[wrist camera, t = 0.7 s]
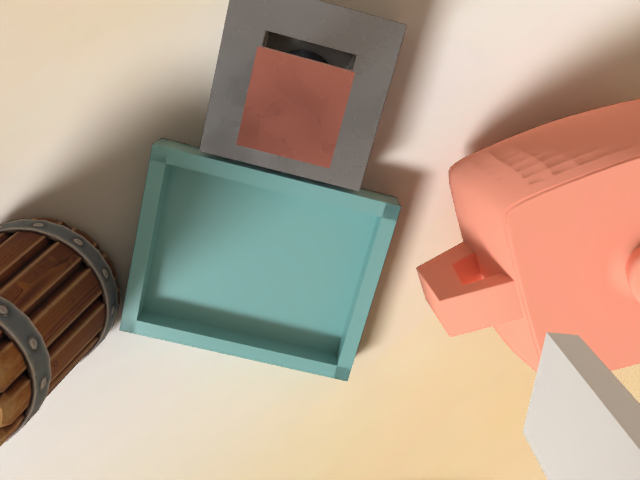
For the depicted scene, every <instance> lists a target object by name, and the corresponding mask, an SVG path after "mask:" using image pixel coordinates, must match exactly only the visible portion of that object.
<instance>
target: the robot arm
mask: <svg viewBox="0 0 640 480" xmlns="http://www.w3.org/2000/svg"><path fill="white" fill-rule="evenodd" d="M523 434H524V436H525V437H526V439H527V441H528V443H529V445H530V447H531V449H532V451H533V453H534V455H535V456H536V458H537V460H538V462H539V464H540V466H541V468H542V470H543V472H544V474H545V475H546V477H547V479H548V480H640V404H639V402H638V401H637V400H636V399H635V398H634V397H633V396H632V395H631V393H630V392H629V391H628V390H627V389H626V388H625V387H624V386H623V384H622V383H621V382H620V381H619V380H618V379H617V378H616V377H615V376H614V374H613V373H612V372H611V371H610V370H609V369H608V368H607V367H606V365H605V364H604V363H603V362H602V361H601V360H600V359H599V358H598V356H597V355H596V354H595V353H594V352H593V351H592V350H591V349H590V348H589V346H588V345H587V344H586V343H585V342H584V341H583V340H582V339H581V337H580V336H579V335H572V334H561V333H551V332H546V336H545V340H544V345H543V349H542V353H541V357H540V361H539V366H538V370H537V374H536V378H535V382H534V387H533V391H532V395H531V399H530V403H529V408H528V412H527V416H526V420H525V424H524V429H523Z"/></svg>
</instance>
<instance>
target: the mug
mask: <svg viewBox="0 0 640 480" xmlns="http://www.w3.org/2000/svg"><path fill="white" fill-rule="evenodd" d="M116 278H117V275H116V272H115V269H114V267H113V265H112V263H111V261H110V260H109V258H108V256H107V255H106V253H104V252H102V251H101V250H99V247H98V244H97V243H96V242H95V241H94V240H93V239H92V238H90V237H89V236H88V235H87V234H85V233H84V232H82V231H80V230H79V229H77V228H76V227H73V228H69V227H68V226H67V225H66V224H65V223H63V222H61V221H57V220H53V219H49V218H38V217H35V218H33V219H23V218H22V219H18V220H14V221H10V222H7V223H2V224H1V225H0V446H1V445H2V444H3V443H4V442H6V441H8V440H9V439H10V438H11V437H12V436H14V435H15V434H16V433H17V432H18V431H19V430H20V429H21V428H22V427H23V426H24V425H25V424H26V423H27V422H28V421H29V420H30V419H31V418H32V417H33V416H34V414H35V413H36V412H37V411H38V410H39V408H40V406H41V405H42V403H43V401H44V400H45V398H46V397H47V396H48V395H49V394H50V393H51V391H52V390H53V389H54V388H55V387H56V386H57V385H58V384H59V383H60V382H61V381H62V380H63V379H64V378H65V376H66V375H67V374H68V373H69V372H70V371H71V370H72V369H73V368H74V367H75V366H76V365H77V364H78V363H79V362H81V361H82V360H83V359H84V358H85V357H87V356H88V355H89V354H90V353H91V352H92V351H93V350H94V349H95V348H96V347H97V346H98V345H99V344H100V343H101V342H102V341H103V340H104V339H105V337H106V335H107V334H108V332H109V330H110V329H111V327H112V325H113V324H114V320H115V316H116V313H117V312H118V307H119V302H120V288H119V287H118V285H117V284H116V282H115V279H116Z"/></svg>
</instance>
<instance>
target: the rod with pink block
mask: <svg viewBox="0 0 640 480" xmlns="http://www.w3.org/2000/svg"><path fill="white" fill-rule="evenodd" d="M354 75H355V72H353V71H352V70H348V69H344V68H341V67H337V66H333V65H330V64H328V63H327V62H326V61H325V60H324V59H323V58H322V57H321V56H319V55H318V54H316V53H314V52H311V51H307V50H295V51H291V52H288V53H285V52H281V51H278V50H274V49H270V48H267V47H263V46H258V47H257V51H256V56H255V60H254V65H253V69H252V74H251V79H250V83H249V88H248V92H247V97H246V101H245V106H244V111H243V115H242V120H241V124H240V129H239V133H238V138H237V143H236V145H239V146H243V147H247V148H251V149H255V150H259V151H263V152H267V153H271V154H274V155H278V156H282V157H286V158H290V159H294V160H298V161H302V162H306V163H310V164H314V165H318V166H322V167H325V168H329V169H330V165H331V161H332V158H333V154H334V150H335V146H336V143H337V139H338V135H339V131H340V128H341V124H342V120H343V116H344V113H345V109H346V105H347V101H348V98H349V94H350V90H351V86H352V83H353V79H354Z"/></svg>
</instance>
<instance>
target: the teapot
mask: <svg viewBox="0 0 640 480" xmlns="http://www.w3.org/2000/svg"><path fill="white" fill-rule="evenodd" d="M449 184H450V189H451V193H452V198H453V202H454V206H455V211H456V215H457V218H458V222H459V226H460V230H461V234H462V238H463V241H464V242H462V243H460V244H458V245H457V246H455V247H453V248H451V249H449V250H448V251H446V252H444V253H442V254H440V255H438V256H437V257H435V258H433V259H431V260H429V261H427V262H426V263H424V264H422V265H420V266H418V267H417V268H416V269H417V272H418V275H419V278H420V282H421V285H422V288H423V292H424V295H425V298H426V300H427V302H428V304H429V305H430V307H431V308H432V310H433V311H434V313H435V314H436V316H437V318H438V319H439V321H440V322H441V324H442V325H443V327H444V328H445V330H446V332H447V333H448V335H449V336H450V337H453V336H457V335H460V334H464V333H468V332H472V331H476V330H479V329H483V328H487V327H491V326H493V327H494V328H495V330H496V331H497V333H498V334H499V335H500V337H501V338H502V339H503V340H504V342H505V343H506V344H507V345H508V346H509V347H510V348H511V349H512V351H513V352H514V353H515V354H516V355H518V356H519V357H520V358H521V359H522V360H523V361H524V362H525V363H526V364H528V365H529V366H530V367H531V368H532V369H533V370H535V371H536V372H537V370H538V366H539V361H540V357H541V353H542V349H543V345H544V340H545V336H546V332H551V333H561V334H572V335H579V336H580V337H581V339H582V340H583V341H584V342H585V343H586V344H587V345H588V346H589V348H590V349H591V350H592V351H593V352H594V353H595V354H596V355H597V356H598V358H599V359H600V360H601V361H602V362H603V363H604V364H605V365H606V367H607V368H608V369H609V370H610V371H612V370H616V369H620V368H624V367H627V366H631V365H635V364H639V363H640V99H636V100H631V101H626V102H621V103H617V104H613V105H609V106H605V107H601V108H597V109H594V110H590V111H586V112H583V113H579V114H575V115H572V116H568V117H565V118H561V119H558V120H555V121H552V122H549V123H546V124H543V125H540V126H538V127H535V128H532V129H530V130H527V131H525V132H522V133H520V134H517V135H515V136H512V137H510V138H507V139H505V140H503V141H500V142H498V143H495V144H493V145H491V146H488V147H486V148H484V149H481V150H479V151H477V152H475V153H473V154H471V155H469V156H467V157H464V158H463V159H461V160H459V161H458V162H456V163H455V164H454V165H453V166H451V167H450V169H449Z"/></svg>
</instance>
